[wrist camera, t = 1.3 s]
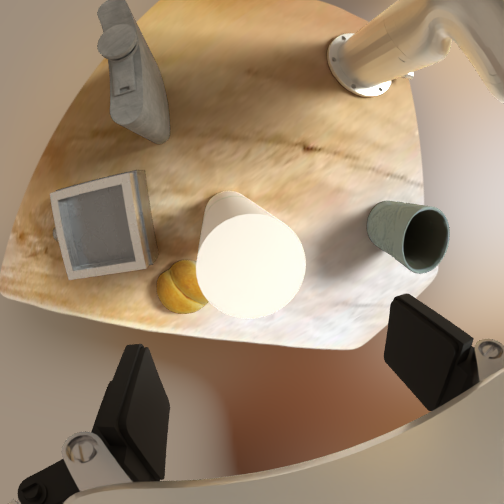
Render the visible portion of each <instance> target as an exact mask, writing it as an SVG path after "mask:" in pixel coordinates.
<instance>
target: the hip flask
mask: <svg viewBox="0 0 504 504" xmlns="http://www.w3.org/2000/svg"><path fill="white" fill-rule="evenodd" d="M97 15H98V18H99V20H100V22H101V25H102V29H103V32H104V33H103V34H102V36H101V37H100V39H99V41H98V45H97V47H98V51H99V52H100V54H102V56H103V57H105V58H106V59H108V62H109V72H110V115H111V118H112V120H113V121H114V122H116V123H117V124H119V125H121V126H123V127H125V128H127V129H129V130H131V131H133V132H135V133H136V134H138V135H140V136H142V137H144V138H146V139H148V140H150V141H152V142H154V143H156V144H162V143H164V142H166V141H167V140H168V139H169V137H170V117H169V108H168V101H167V96H166V91H165V87H164V83H163V80H162V77H161V74H160V71H159V68H158V66H157V64H156V61H155V59H154V57H153V55H152V53H151V51H150V49H149V47H148V45H147V43H146V41H145V39H144V37H143V35H142V33H141V31H140V29H139V27H138V25H137V23H136V21H135V19H134V17H133V15H132V13H131V11H130V9H129V7H128V5H127V3H126V1H125V0H108V1H106V2H105V3H103V4H102V5H101V6H100V8H99V9H98V12H97Z"/></svg>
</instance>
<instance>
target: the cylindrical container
mask: <svg viewBox="0 0 504 504" xmlns="http://www.w3.org/2000/svg"><path fill="white" fill-rule="evenodd" d="M305 268H306V260H305V253H304V250H303V246H302V243H301V242H300V240H299V238H298V237H297V235H296V234H295V233H294V231H293V230H292V229H291V228H290V227H289V226H287V225H286V224H285V223H283V222H282V221H280V220H279V219H277V218H276V217H274V216H273V215H272V214H270V213H269V212H267V211H266V210H264V209H263V208H261V207H260V206H258V205H257V204H255V203H254V202H252V201H251V200H249V199H248V198H246V197H245V196H243V195H242V194H240V193H238V192H235V191H222V192H220V193H217V194H216V195H214V196H213V197H212V198H211V199H210V200H209V202H208V203H207V205H206V208H205V213H204V218H203V224H202V230H201V236H200V242H199V249H198V255H197V262H196V276H197V280H198V284H199V287H200V289H201V291H202V293H203V295H204V296H205V298H206V299H207V300H208V301H209V303H210V304H212V305H213V306H214V307H215V308H216V309H218V310H219V311H221V312H223V313H225V314H227V315H230V316H233V317H236V318H244V319H253V318H260V317H264V316H267V315H270V314H272V313H275V312H276V311H278V310H280V309H281V308H283V307H284V306H285V305H286V304H287V303H289V302H290V301H291V300H292V299H293V297H294V296H295V295H296V293H297V292H298V290H299V288H300V286H301V284H302V282H303V278H304V275H305Z"/></svg>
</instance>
